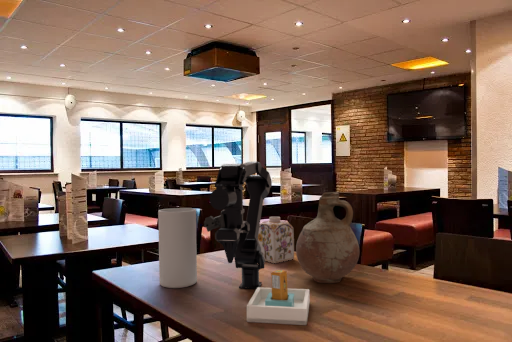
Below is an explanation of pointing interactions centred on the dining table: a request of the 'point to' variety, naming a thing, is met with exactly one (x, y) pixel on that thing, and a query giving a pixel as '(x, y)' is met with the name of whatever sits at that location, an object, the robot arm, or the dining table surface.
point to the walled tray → (279, 307)
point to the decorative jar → (276, 240)
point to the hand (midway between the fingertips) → (233, 259)
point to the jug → (328, 242)
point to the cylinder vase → (177, 247)
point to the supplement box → (279, 285)
